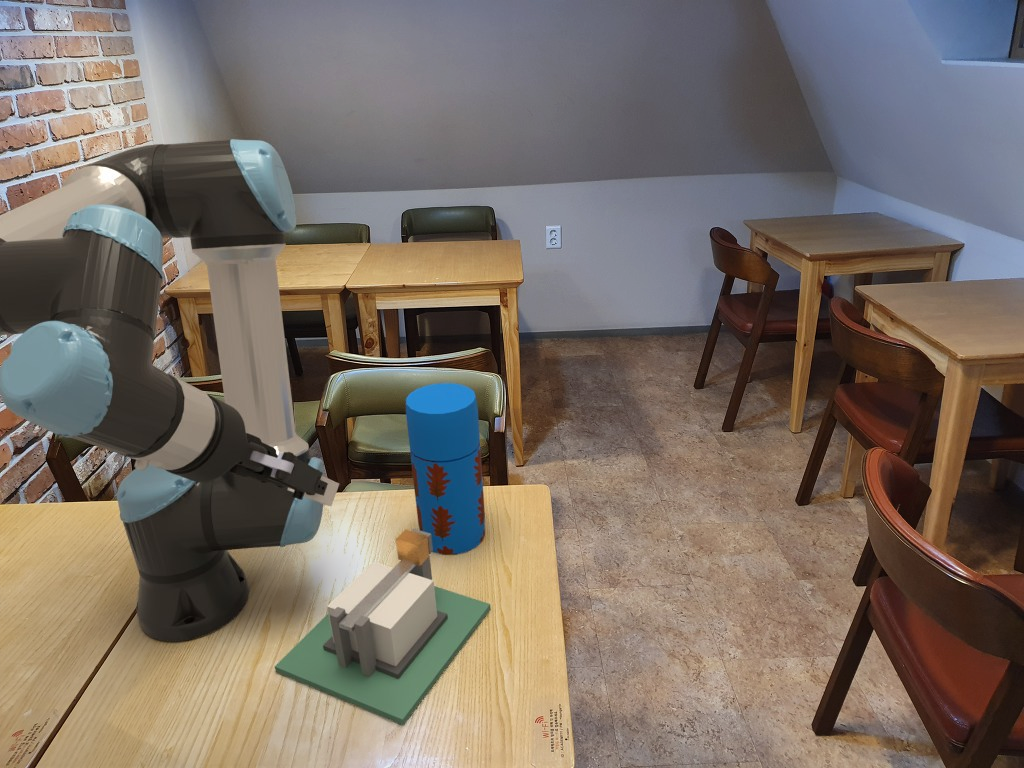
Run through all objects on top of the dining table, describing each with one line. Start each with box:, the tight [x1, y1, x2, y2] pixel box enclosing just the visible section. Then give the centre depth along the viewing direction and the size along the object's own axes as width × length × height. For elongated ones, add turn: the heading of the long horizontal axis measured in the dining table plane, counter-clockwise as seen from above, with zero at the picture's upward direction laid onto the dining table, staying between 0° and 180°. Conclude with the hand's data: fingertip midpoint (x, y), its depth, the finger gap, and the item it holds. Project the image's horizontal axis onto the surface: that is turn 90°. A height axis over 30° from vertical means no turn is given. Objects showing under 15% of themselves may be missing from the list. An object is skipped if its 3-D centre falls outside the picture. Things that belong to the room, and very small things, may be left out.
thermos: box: [405, 382, 486, 556], centre depth 121 cm, size 11×11×25 cm
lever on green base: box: [274, 528, 492, 726], centre depth 103 cm, size 20×22×11 cm
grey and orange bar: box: [339, 529, 430, 632], centre depth 102 cm, size 4×16×4 cm, turn 153°
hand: (330, 493), depth 88 cm, fingers closed
